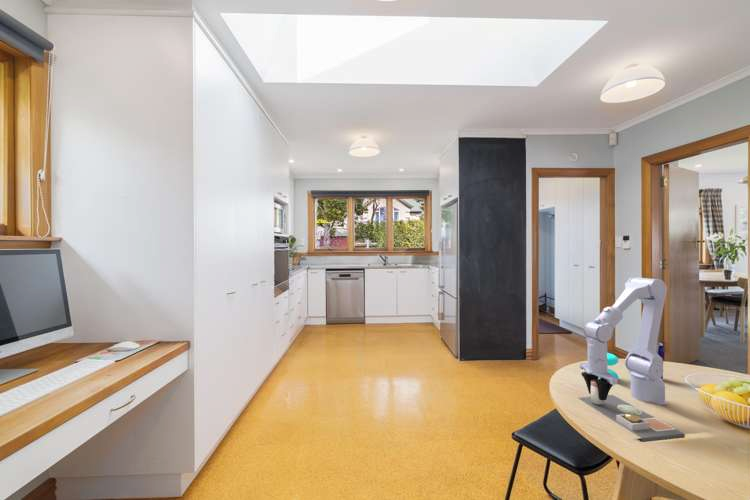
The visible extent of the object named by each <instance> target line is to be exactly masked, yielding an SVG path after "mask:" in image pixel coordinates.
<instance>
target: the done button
mask: <svg viewBox="0 0 750 500" xmlns="http://www.w3.org/2000/svg"><path fill="white" fill-rule="evenodd" d="M625 419H626V420H628V421H629V422H631V423H640V416H639V415H638V414H635V413H632V412H625Z"/></svg>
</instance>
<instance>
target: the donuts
mask: <svg viewBox="0 0 750 500" xmlns="http://www.w3.org/2000/svg"><path fill="white" fill-rule="evenodd" d="M618 363H619V358H618V357H617V356H616V355H615V354H613V353H609V352H607V367H608V366H614V365H617V364H618ZM607 371H608V372H609V373H610V374H612V375H613V376H614V377H616V378H618V379H619V375H618V373H617V372H616V371H614V370H612V369H610V368H607ZM598 379H601V378H600V377H598Z"/></svg>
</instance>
